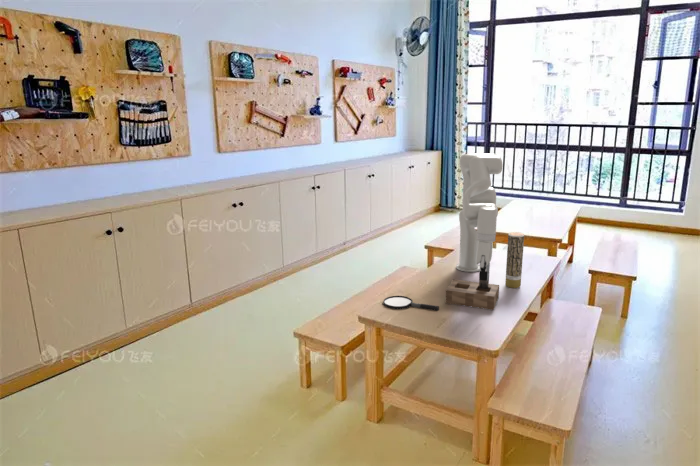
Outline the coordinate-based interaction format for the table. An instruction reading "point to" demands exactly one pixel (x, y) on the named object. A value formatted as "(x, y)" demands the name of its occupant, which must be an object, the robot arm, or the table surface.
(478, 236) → the robot arm
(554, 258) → the table surface
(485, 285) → the steel pin
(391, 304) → the magnifying glass
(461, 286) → the brown rectangular block
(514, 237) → the bark pattern cylinder
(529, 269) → the table surface
